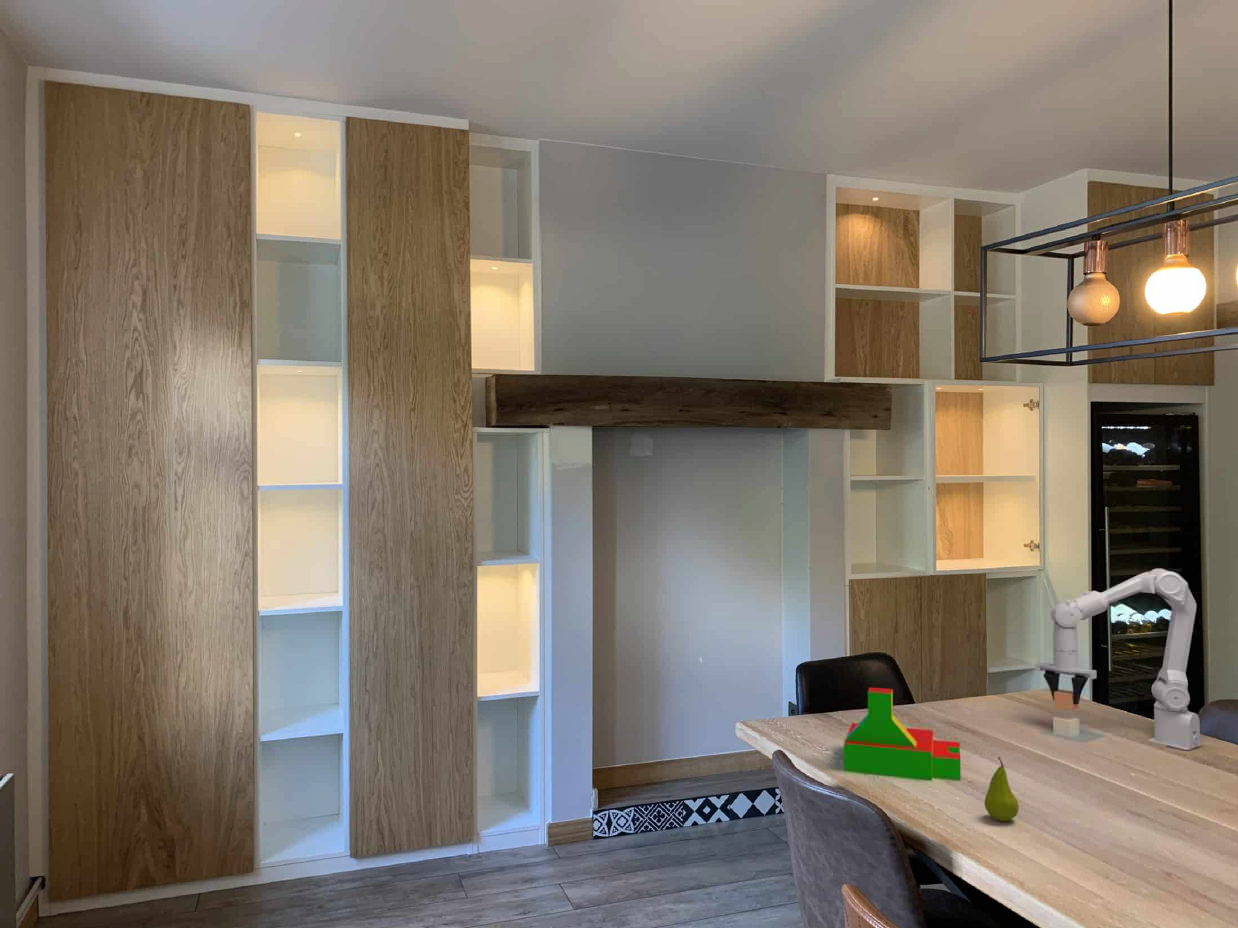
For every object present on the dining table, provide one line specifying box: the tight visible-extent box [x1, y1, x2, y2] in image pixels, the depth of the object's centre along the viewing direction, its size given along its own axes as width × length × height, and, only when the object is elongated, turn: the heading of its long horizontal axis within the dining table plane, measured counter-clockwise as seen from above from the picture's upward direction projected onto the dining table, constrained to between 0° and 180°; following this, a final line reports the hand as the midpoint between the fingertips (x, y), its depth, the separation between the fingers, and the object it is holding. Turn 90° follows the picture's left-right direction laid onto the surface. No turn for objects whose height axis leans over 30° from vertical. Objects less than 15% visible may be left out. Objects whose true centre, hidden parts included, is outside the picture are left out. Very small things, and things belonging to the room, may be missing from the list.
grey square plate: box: [1037, 727, 1107, 744], centre depth 231 cm, size 12×12×1 cm
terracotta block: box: [1053, 689, 1080, 711], centre depth 232 cm, size 4×4×4 cm
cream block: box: [1052, 714, 1080, 737], centre depth 231 cm, size 4×4×4 cm
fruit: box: [984, 756, 1020, 822], centre depth 172 cm, size 6×6×12 cm
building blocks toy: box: [843, 686, 962, 782], centre depth 207 cm, size 19×25×18 cm
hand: (1065, 701), depth 232 cm, fingers closed on terracotta block, 4 cm apart
